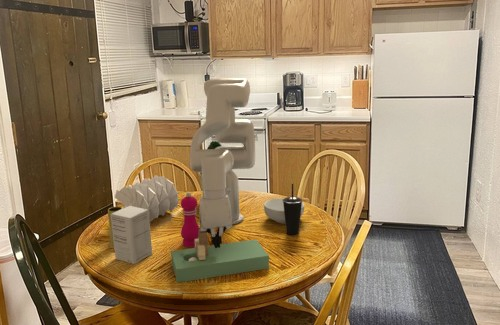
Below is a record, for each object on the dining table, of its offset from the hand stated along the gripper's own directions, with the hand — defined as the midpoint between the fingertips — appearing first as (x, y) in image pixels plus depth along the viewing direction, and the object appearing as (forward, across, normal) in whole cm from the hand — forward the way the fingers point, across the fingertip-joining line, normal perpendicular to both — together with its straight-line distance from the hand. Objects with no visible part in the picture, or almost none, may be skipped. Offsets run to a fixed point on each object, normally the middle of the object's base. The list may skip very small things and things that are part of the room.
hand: (216, 246), depth 154 cm
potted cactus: (+7, -14, -65) cm, 67 cm away
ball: (+5, +8, 0) cm, 9 cm away
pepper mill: (+7, +5, -21) cm, 23 cm away
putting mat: (+7, -1, 0) cm, 7 cm away
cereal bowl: (+7, -36, -33) cm, 49 cm away
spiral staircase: (+7, +17, -54) cm, 57 cm away
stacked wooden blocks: (+2, +5, 0) cm, 5 cm away
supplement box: (+7, +26, -17) cm, 32 cm away
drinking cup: (+7, -34, -18) cm, 39 cm away
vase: (+7, +31, -29) cm, 43 cm away
